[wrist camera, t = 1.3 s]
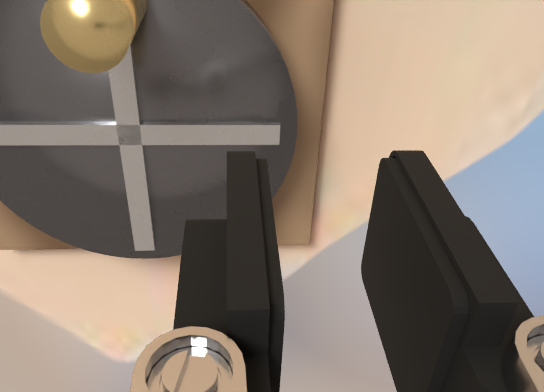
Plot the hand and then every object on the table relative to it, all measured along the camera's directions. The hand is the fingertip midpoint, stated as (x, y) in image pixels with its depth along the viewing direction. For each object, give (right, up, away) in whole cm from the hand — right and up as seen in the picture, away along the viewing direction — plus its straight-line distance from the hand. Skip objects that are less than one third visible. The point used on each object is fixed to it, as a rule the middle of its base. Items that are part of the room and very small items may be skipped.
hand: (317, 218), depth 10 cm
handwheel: (-9, +6, +20) cm, 23 cm away
